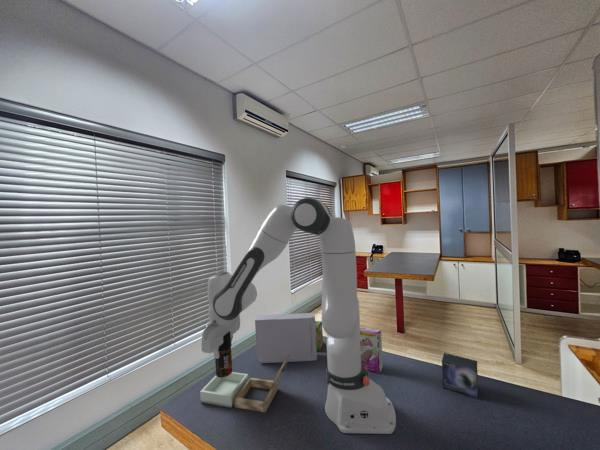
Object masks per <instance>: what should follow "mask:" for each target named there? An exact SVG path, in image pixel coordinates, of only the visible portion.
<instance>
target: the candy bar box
mask: <svg viewBox="0 0 600 450" xmlns="http://www.w3.org/2000/svg"><path fill="white" fill-rule="evenodd" d="M382 345H383V341H382V330H381V329H377V328H371V327H367V326H364V325H360V350H361V366H362V367H364V368H366V367H367V371H368V372H373V373H377V374H381V373H382V370H383V368H384V365H383V347H382Z"/></svg>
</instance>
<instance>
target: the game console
mask: <svg viewBox="0 0 600 450" xmlns="http://www.w3.org/2000/svg"><path fill="white" fill-rule="evenodd" d="M315 321H316V316H315V312H305V313H304V312H302V313H301V312H300V313H284V314H280V313H279V314H264V315H263V314H262V315H256V317H255V320H254V326H255V327H254V328H255V343H256V345H255V347H256V358H257V360H258V361H259V362H260V363H261V364H270V363H271V364H273V363H274V364H275V363H283V362H284V361H285V359H286V357H287V356H288V355H289V358H288V360H287V363H289V362H290V363H291V362H293V363H294V362H296V363H297V362H312V361H313V362H316V361H317V360H318V351H317V350H316V330H315Z"/></svg>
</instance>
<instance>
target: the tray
mask: <svg viewBox="0 0 600 450" xmlns="http://www.w3.org/2000/svg"><path fill="white" fill-rule="evenodd" d="M248 379H249V373H243V372H242V373H241V372H235V371H232V373H231V374H230V375H229V376H226V377H222V378H221V377H217V376H216V375H215V376H214V377H213V378H211V379H210V380H209V382H208V383H207V384H206V385H205V386H204V387H203V388H202V389H201V390H200V391H199V395H200V403H202V404H206V405H207V404H208V405H212V406H213V405H214V406H218V407H225V408H229V409H230V408H231V409H232V408H233V407H234V406H235V402H234V398H235V397H236V396H237V394H238V393H239V392H240V390H241V389H242V388H243V386H244V385H245V384H246V382H247V381H248Z"/></svg>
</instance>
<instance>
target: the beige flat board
mask: <svg viewBox="0 0 600 450" xmlns="http://www.w3.org/2000/svg"><path fill="white" fill-rule="evenodd" d="M288 358H289V355H288V356H287V357H286V359H285V361H284V362H282V364H281V366H280V367H279V369H278V370H277V373H276V376H275V377H274V380H273V381H274V382H273V385H272V387H271V389H269V392H268V393H269V394H268V393H267V395H268V397H267V396H266V397H267V399H266V398H265V399H266V402H265V403H266V404H267V402H268V400H269V398H270V397H271V395H272V393H273V391H274V389H275V387H276V386H277V384H278V385H279V382H280V380H281V377H282V374H283V373H284V372H285V370H286V369H287V366H288V364H289V362H287V360H288Z"/></svg>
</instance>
